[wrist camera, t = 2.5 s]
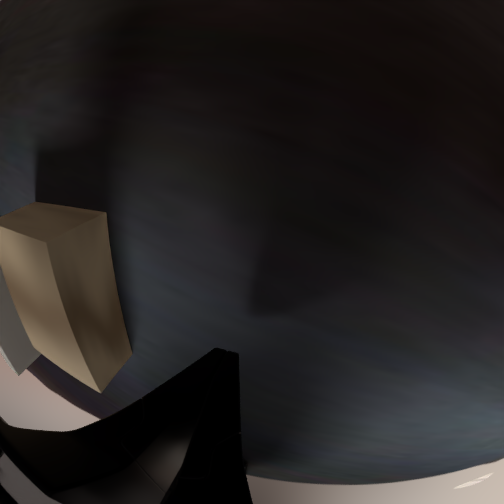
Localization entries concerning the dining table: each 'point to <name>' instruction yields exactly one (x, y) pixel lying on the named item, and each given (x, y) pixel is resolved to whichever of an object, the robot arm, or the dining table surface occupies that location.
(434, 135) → the dining table surface
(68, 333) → the maple block
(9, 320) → the fence bar
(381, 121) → the dining table surface
